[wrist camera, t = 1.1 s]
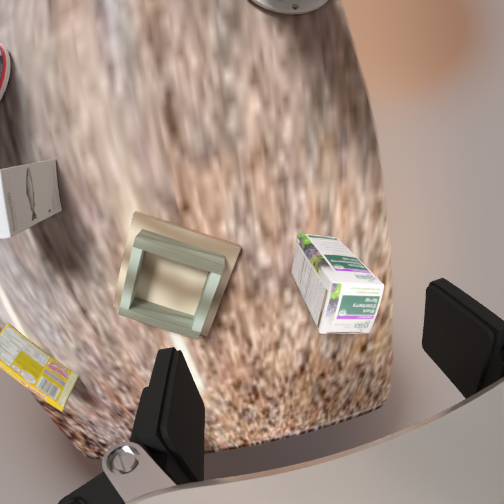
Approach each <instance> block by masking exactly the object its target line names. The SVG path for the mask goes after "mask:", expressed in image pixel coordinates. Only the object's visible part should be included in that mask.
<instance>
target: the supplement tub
mask: <svg viewBox="0 0 504 504" xmlns="http://www.w3.org/2000/svg"><path fill="white" fill-rule="evenodd" d="M9 76H10V57H9V53H8V51H7V49H6V48H5V47H4V46H3V45H2V44H1V43H0V100H1V99H2V97H3V95H4V92H5V90H6V87H7V84H8V81H9Z"/></svg>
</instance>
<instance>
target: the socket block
mask: <svg viewBox="0 0 504 504" xmlns="http://www.w3.org/2000/svg"><path fill="white" fill-rule="evenodd" d="M240 249H241V245H238V244H235V243H232V242H229V241H226V240H223V239H220V238H217V237H214V236H210V235H207V234H204V233H201V232H198V231H195V230H192V229H189V228H186V227H183V226H180V225H177V224H174V223H171V222H168V221H165V220H162V219H159V218H156V217H153V216H150V215H147V214H144V213H141V212H137V211H135V212H134V214H133V218H132V222H131V226H130V230H129V234H128V238H127V242H126V246H125V251H124V255H123V260H122V264H121V269H120V274H119V279H118V284H117V289H116V294H115V300H114V305H113V307H115V308H117V309H119V315H122V316H125V317H128V318H131V319H134V320H137V321H140V322H143V323H146V324H149V325H152V326H155V327H158V328H161V329H164V330H168V331H171V332H174V333H178V334H181V335H184V336H188V337H191V338H195V339H198V338H199V335H203V336H206V337H207V336H208V334H209V331H210V328H211V326H212V323H213V320H214V318H215V315H216V312H217V310H218V307H219V304H220V302H221V299H222V296H223V294H224V291H225V289H226V286H227V283H228V281H229V278H230V275H231V273H232V270H233V268H234V265H235V262H236V260H237V257H238V255H239V252H240Z"/></svg>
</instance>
